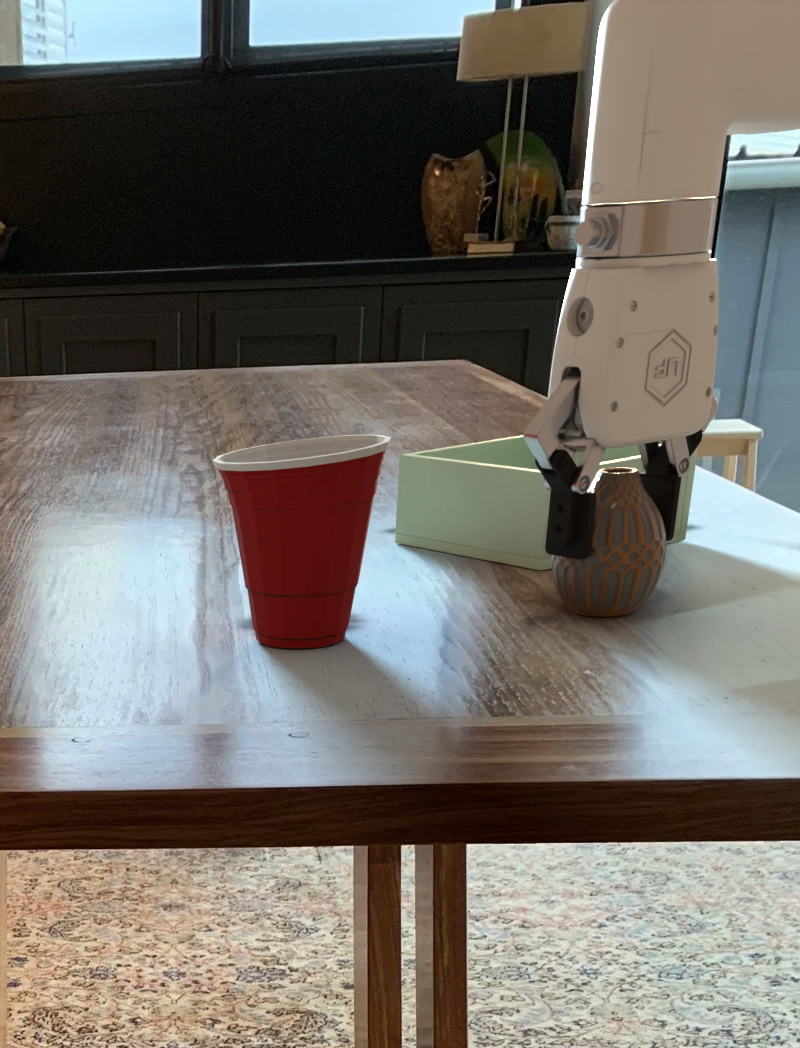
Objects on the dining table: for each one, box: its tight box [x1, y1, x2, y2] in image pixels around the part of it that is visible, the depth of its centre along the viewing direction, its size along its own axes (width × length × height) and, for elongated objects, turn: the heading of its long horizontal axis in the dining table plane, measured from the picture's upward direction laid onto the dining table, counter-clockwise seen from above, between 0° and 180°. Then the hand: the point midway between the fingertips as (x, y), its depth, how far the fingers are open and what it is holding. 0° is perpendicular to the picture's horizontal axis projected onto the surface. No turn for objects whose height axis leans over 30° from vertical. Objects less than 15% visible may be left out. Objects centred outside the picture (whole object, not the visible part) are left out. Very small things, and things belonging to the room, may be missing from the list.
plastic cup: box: [211, 434, 392, 649], centre depth 96 cm, size 11×11×12 cm
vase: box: [551, 468, 667, 618], centre depth 98 cm, size 7×7×9 cm
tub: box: [394, 434, 699, 572], centre depth 119 cm, size 16×16×7 cm
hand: (609, 545), depth 98 cm, fingers closed on vase, 6 cm apart
